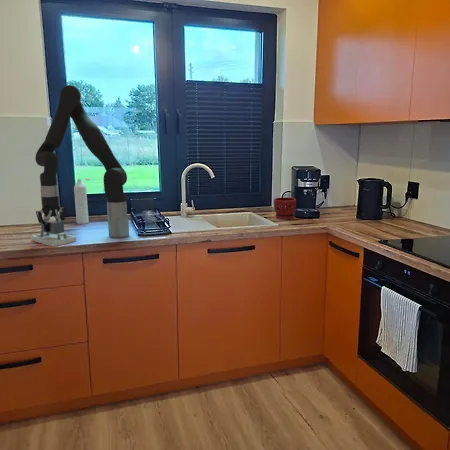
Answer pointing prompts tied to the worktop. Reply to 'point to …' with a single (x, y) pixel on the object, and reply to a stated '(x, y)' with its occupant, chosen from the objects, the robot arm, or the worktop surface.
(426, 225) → the worktop surface
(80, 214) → the water bottle
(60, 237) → the tray
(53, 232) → the block
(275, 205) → the plant pot
